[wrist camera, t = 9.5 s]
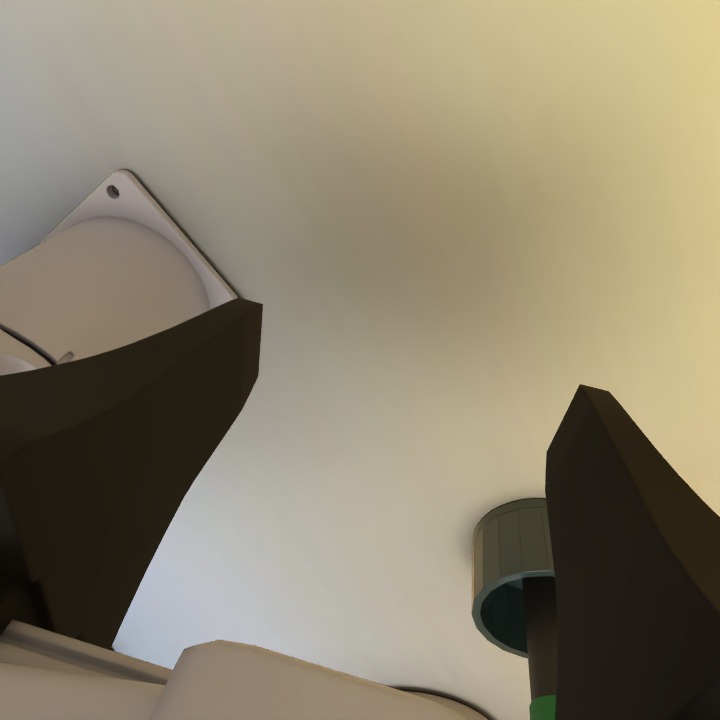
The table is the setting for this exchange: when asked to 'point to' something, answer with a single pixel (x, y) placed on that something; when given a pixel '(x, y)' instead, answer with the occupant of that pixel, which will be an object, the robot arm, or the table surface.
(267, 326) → the table surface
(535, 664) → the marker
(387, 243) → the table surface
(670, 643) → the robot arm
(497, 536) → the tumbler
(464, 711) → the cylinder vase
